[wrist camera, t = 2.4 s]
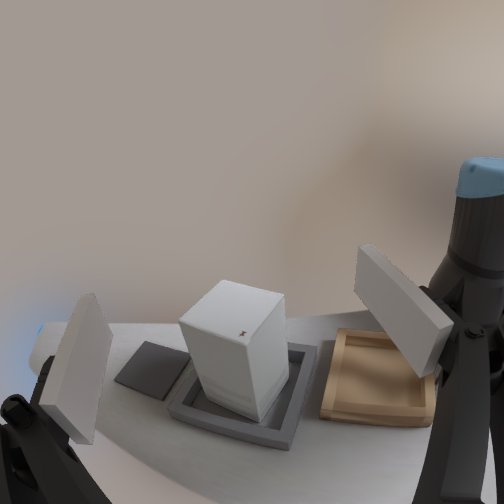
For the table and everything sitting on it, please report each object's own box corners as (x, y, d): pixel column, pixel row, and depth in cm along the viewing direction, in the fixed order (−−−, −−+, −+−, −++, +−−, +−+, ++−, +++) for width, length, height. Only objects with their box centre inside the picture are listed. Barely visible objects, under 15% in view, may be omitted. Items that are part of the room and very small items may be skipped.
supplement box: (291, 377, 34) (288, 293, 28) (259, 425, 28) (244, 346, 22) (239, 358, 37) (223, 276, 31) (204, 399, 32) (174, 318, 26)
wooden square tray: (336, 339, 38) (338, 327, 37) (425, 346, 34) (429, 335, 33) (319, 418, 28) (320, 408, 27) (429, 426, 24) (436, 416, 23)
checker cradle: (215, 340, 41) (212, 329, 40) (316, 357, 36) (317, 346, 35) (168, 416, 30) (162, 406, 29) (288, 450, 25) (288, 443, 24)
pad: (146, 342, 41) (145, 341, 41) (192, 355, 38) (191, 353, 38) (115, 381, 35) (114, 379, 34) (162, 400, 32) (161, 399, 32)
